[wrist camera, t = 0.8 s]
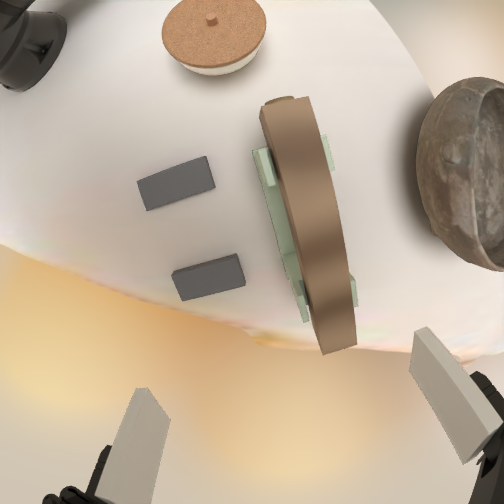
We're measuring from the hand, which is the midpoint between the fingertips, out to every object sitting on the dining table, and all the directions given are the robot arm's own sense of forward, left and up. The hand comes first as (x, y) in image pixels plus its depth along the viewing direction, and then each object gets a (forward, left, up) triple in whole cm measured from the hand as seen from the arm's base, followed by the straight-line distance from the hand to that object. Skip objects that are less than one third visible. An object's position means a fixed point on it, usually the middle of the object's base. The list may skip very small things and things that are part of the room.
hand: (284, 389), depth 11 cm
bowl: (-3, +31, -25) cm, 40 cm away
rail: (-2, +5, -16) cm, 17 cm away
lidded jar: (-25, +2, -25) cm, 36 cm away
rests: (-3, -8, -25) cm, 26 cm away
